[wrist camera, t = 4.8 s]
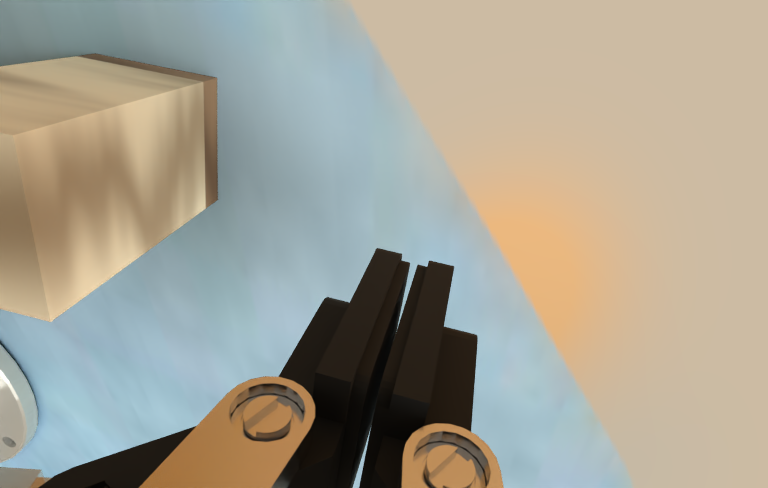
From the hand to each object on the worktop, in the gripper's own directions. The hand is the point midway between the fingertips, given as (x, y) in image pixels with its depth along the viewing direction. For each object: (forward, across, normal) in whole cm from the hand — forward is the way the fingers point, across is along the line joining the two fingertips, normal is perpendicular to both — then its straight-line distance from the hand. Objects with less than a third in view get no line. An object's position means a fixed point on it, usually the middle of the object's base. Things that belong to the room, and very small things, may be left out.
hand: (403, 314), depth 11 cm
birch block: (+9, +12, 0) cm, 15 cm away
